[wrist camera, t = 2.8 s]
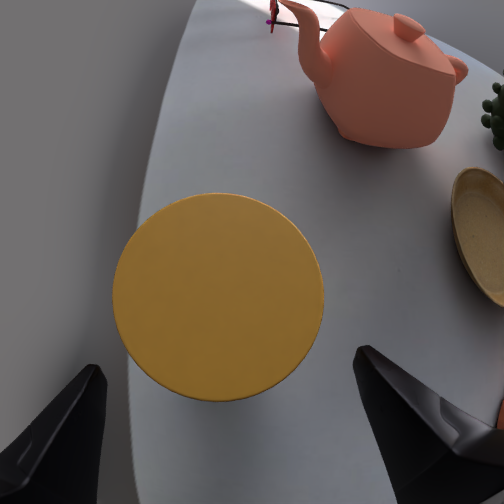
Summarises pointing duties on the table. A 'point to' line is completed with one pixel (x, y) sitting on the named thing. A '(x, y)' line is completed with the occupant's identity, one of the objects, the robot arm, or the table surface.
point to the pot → (501, 417)
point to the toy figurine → (495, 115)
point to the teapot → (379, 76)
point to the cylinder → (218, 297)
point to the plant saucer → (480, 229)
